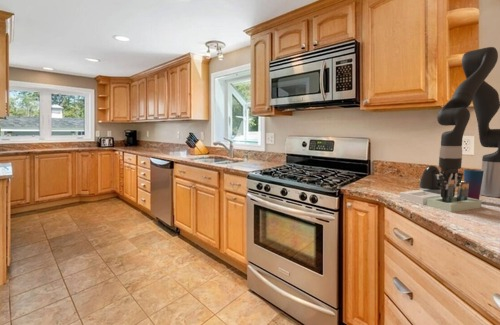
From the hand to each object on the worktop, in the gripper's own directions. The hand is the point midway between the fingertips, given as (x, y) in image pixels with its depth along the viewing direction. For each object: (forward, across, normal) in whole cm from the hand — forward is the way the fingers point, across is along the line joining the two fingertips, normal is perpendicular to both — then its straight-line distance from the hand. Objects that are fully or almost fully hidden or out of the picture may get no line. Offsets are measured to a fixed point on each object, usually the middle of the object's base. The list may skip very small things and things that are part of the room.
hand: (447, 197), depth 111 cm
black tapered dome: (+5, -18, -21) cm, 28 cm away
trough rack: (+5, -4, 0) cm, 7 cm away
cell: (+2, 0, 0) cm, 2 cm away
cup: (+5, -20, -3) cm, 21 cm away
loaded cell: (+4, -9, 0) cm, 10 cm away
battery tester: (+5, -4, -13) cm, 15 cm away
